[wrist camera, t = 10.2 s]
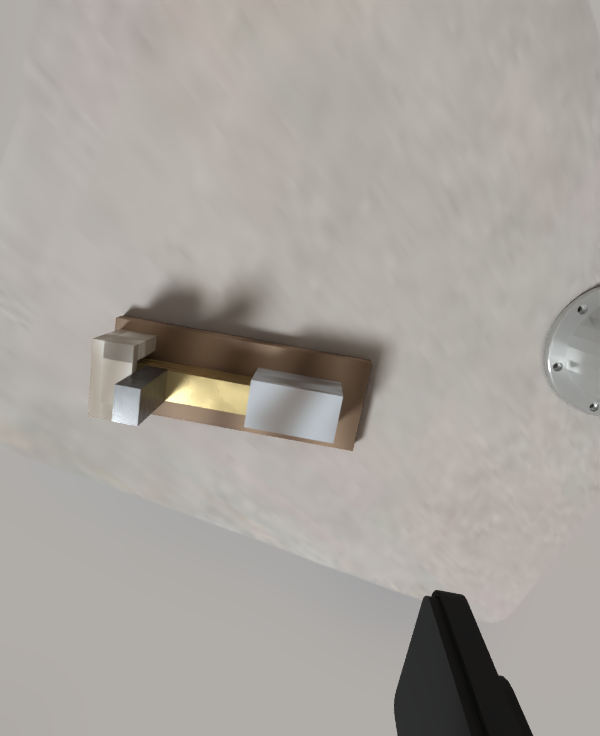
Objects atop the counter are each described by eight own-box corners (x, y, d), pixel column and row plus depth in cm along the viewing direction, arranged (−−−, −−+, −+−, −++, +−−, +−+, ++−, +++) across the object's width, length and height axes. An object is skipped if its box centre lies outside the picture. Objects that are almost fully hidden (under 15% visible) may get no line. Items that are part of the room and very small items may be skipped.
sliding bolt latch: (370, 360, 43) (378, 378, 36) (351, 444, 45) (356, 476, 38) (123, 315, 43) (87, 325, 36) (116, 401, 45) (82, 426, 38)
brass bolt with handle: (287, 382, 41) (278, 414, 33) (282, 412, 42) (272, 450, 33) (130, 353, 41) (81, 378, 33) (128, 383, 42) (79, 415, 34)
